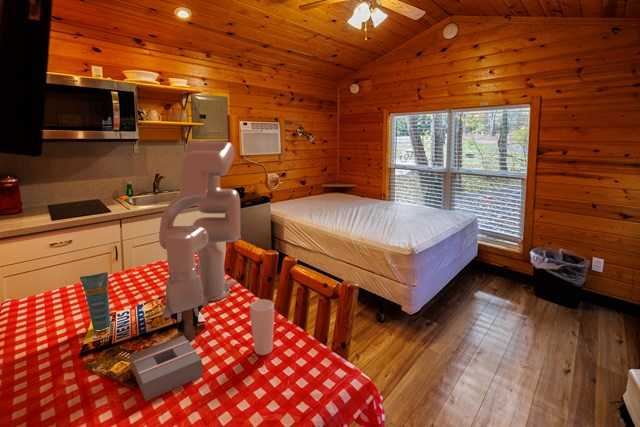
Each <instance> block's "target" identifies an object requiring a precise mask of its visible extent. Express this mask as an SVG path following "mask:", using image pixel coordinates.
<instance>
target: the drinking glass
mask: <svg viewBox="0 0 640 427" xmlns="http://www.w3.org/2000/svg"><path fill="white" fill-rule="evenodd" d="M274 305H275V304H274V302H273V301H272V300H270V299H265V298H264V299H257V300H254V301H253V302H251V303H250V305H249V314H250V316H249V317H250V324H251V333H252V338H253V346H254V347H253V348H254V352H255V354H257V355H258V356H266V355H269V354H270V353H271V352H272V351H273V347H274V346H273V342H274V328H275V327H274V326H275V325H274V323H275V308H274V307H275V306H274Z"/></svg>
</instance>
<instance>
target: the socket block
mask: <svg viewBox="0 0 640 427" xmlns="http://www.w3.org/2000/svg"><path fill="white" fill-rule="evenodd" d="M130 362H131V368H132V373H133V375H134V378H135V377H136V378H135V379H136V382H137V384H138V387H139V389H140V391H141V394H142V396H143V398H144V402H148V401H150V400H151V399H152V400H153V399H154V398H157V397H159V396H161V395H163V394H166V393H168V392H170V391H172V390H174V389H177V388H178V387H182V386H183V385H185V384H187V383H188V384H189V382H192V381H194V380H196V379H199V378H201V377H203V376H204V374H203V373H204V372H203V371H204V370H203V363H202V362H203V361H202V358H201V356H199V354H198V353H197V350H195V349H194V347H193V346H192V345H191V344H190V342H189V341H187V339H186V338H185V337H184V335H183V334H182V335H180V336H178V337H175V338H172V339H169V340H167V341H164V342H161V343H159V344H155V345H152V346H150V347H148V348H144V349H142V350H139V351H137V352H134V353H130Z"/></svg>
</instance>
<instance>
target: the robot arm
mask: <svg viewBox="0 0 640 427" xmlns="http://www.w3.org/2000/svg"><path fill="white" fill-rule="evenodd" d="M185 145H186V146H185V155H184V156H183V158H182V167H181V174H180V185H179V193H178V194H177V196H176V197H175V198H173V200H171V201H170V203H168V205H167V206H166V208H165V209H164V211H163V213H162V214H161V219H160V225H159V231H158V233H159V234H158V239H159V240H158V242H159V244H160V247H161V248H162V249H164V250H166V257H167V266H168V267H167V268H168V277H169V278H168V279H166V282H165V308H164V310H163V312H162V316H163V317H164V318H166V319H167V318H169V319H170V318H171V319H172V320H174V321H175V322H176V328H177V331H180V332H181V334H183V333H184V322H183V320H182V318H181V317H182V312H183V311H186V310H189V309H192V311H193V322H194V329H198V325H199V315H200V312H201V311H202V310H203V308H205V306H207V305H208V303H209V302H215V301H216V302H217V301H220V300H222V299H224V298H227V297H228V296H229V295H230V293H231V292H230V287H233V286H236V285H237V284H238V283H237V280H236V279H235V280H231V279H228V280H226V277H225V276H226V275H225V263H224V262H225V261H224V251H223V248H222V247H221V246H220V244H219V243H233V242H237V241H238V240H239V239H240V237H241V198H240V194H239V192H238V191H237V190H236V189H232V188H221V177H223V176H225V175H227V174H228V172H229V170H230V168H231V166H232V164H233V162H234V160H235V148H234V145H233V144H232V143H231V142H230V141H227V140H226V141H223V140H222V141H221V140H219V141H218V140H214V141H213V140H196V141H190V142H188V143H187V144H185ZM194 205H196V206H197V209H198V211H199V213H202V214H208V215H209V214H211V215H212V214H213V215H215V214H216V215H217V214H220V215H221V214H222V215H223V214H226V215H227V216H226V217H224V216H223V217H219V216H210V217H209V216H207V217H200V218H197V219H196V220H195V221H194V222H193V223H192V225H174V223H175V220H176V218H177V217H178V215H180V213H182V212H183V211H184V210H186V209H189V208H190V207H192V206H194ZM196 253H197V263H198V264H197V263H196V255H195V254H196ZM196 264H197V265H196Z"/></svg>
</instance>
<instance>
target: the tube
mask: <svg viewBox="0 0 640 427" xmlns="http://www.w3.org/2000/svg"><path fill="white" fill-rule="evenodd" d="M108 276H109V273H108V271H107V272H100V273H96V274H91V275H90V274H89V275H83V276H79V279H80V283H81V285H82V289H83V291H84V295H85V299H86V303H87V307H88V311H89V316H90V320H91V325H92V330H93V329H94V330H102V329H105V328H107V327H108V326H109V325H110V324H111V313H110V298H109V281H108V280H109V279H108V278H109V277H108ZM94 330H93V331H94Z"/></svg>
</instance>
